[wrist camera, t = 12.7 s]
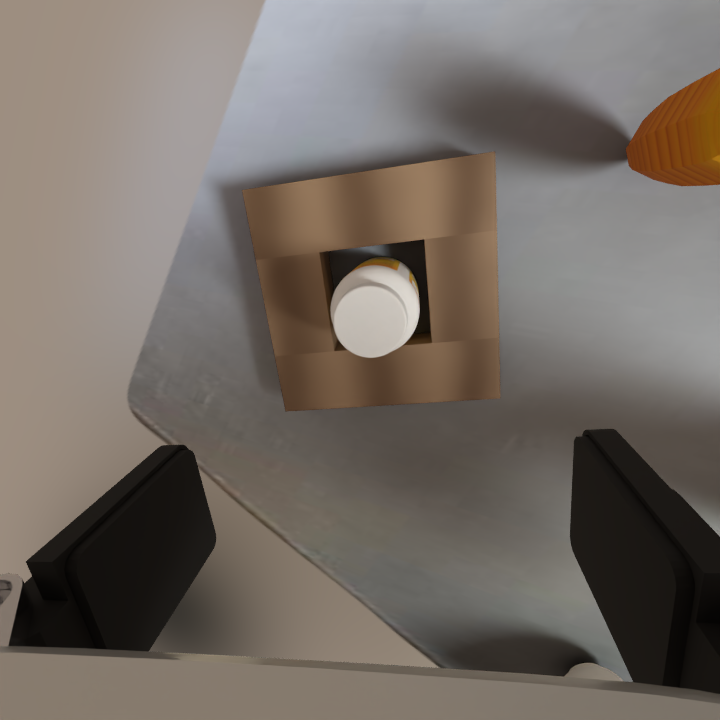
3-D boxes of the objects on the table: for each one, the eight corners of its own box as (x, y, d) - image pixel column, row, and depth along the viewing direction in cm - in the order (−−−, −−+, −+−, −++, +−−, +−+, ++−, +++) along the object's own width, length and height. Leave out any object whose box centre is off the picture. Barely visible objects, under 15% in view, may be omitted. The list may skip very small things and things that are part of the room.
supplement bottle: (333, 297, 32) (299, 328, 22) (377, 240, 30) (361, 249, 21) (386, 341, 32) (375, 389, 23) (433, 288, 30) (442, 317, 21)
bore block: (486, 158, 27) (495, 151, 24) (492, 382, 32) (500, 398, 29) (258, 192, 30) (242, 190, 27) (296, 395, 35) (285, 411, 32)
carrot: (620, 212, 27) (841, 204, 13) (575, 153, 27) (757, 78, 12) (693, 154, 26) (1030, 74, 12) (647, 89, 25) (947, -79, 11)
